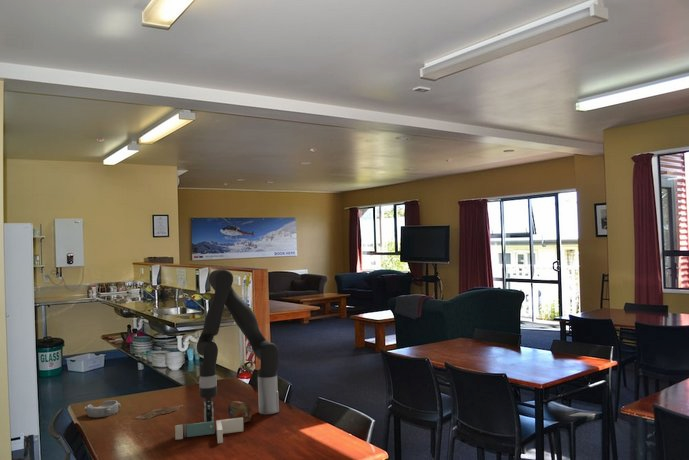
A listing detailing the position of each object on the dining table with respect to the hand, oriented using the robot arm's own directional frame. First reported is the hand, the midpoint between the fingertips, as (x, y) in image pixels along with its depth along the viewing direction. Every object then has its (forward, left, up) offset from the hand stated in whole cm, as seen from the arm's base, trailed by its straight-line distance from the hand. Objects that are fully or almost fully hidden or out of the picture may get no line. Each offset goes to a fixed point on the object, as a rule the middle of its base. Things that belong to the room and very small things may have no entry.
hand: (209, 423), depth 238 cm
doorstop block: (0, 0, -1) cm, 1 cm away
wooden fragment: (+22, -30, -1) cm, 37 cm away
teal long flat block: (+4, +12, -1) cm, 13 cm away
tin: (-14, -2, -1) cm, 14 cm away
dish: (+49, -38, -1) cm, 62 cm away
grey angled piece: (0, +18, -1) cm, 18 cm away
